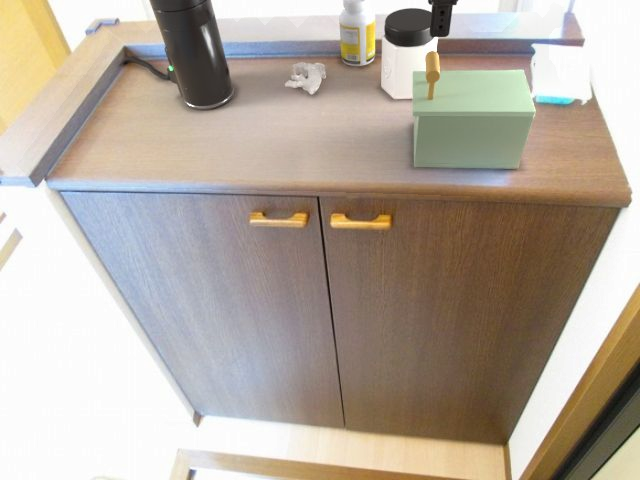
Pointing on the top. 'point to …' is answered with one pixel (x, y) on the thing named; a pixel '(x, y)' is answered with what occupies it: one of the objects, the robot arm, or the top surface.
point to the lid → (470, 92)
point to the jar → (405, 50)
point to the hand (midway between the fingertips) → (437, 19)
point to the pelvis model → (314, 76)
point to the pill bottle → (357, 32)
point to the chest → (470, 141)
